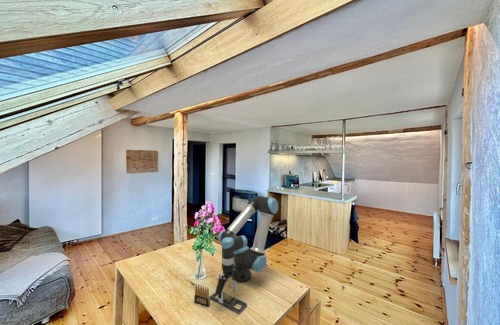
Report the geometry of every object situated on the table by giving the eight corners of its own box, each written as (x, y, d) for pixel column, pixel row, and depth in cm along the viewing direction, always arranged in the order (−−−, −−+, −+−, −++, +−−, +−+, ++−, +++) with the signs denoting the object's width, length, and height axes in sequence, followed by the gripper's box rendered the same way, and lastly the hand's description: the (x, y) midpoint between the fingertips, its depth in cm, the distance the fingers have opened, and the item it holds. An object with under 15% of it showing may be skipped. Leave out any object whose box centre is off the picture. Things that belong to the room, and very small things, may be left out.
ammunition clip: (210, 305, 127) (209, 286, 127) (208, 307, 125) (208, 288, 125) (196, 300, 131) (195, 282, 131) (194, 302, 129) (194, 284, 129)
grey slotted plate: (218, 292, 139) (218, 289, 139) (247, 306, 125) (247, 303, 125) (210, 299, 132) (210, 296, 132) (239, 314, 119) (239, 311, 119)
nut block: (227, 299, 132) (227, 289, 132) (232, 302, 129) (232, 291, 129) (223, 303, 128) (223, 292, 128) (228, 306, 126) (228, 294, 126)
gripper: (235, 253, 141) (235, 284, 141) (209, 270, 120) (209, 305, 121) (244, 256, 137) (244, 287, 137) (218, 273, 116) (219, 310, 116)
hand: (228, 296), depth 129 cm, fingers open, 13 cm apart
